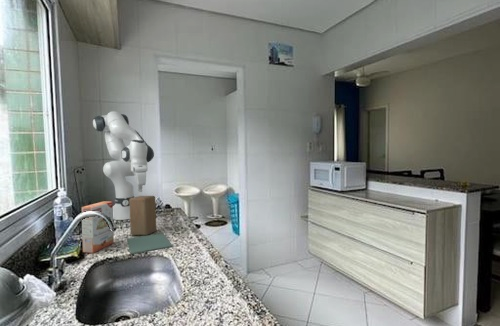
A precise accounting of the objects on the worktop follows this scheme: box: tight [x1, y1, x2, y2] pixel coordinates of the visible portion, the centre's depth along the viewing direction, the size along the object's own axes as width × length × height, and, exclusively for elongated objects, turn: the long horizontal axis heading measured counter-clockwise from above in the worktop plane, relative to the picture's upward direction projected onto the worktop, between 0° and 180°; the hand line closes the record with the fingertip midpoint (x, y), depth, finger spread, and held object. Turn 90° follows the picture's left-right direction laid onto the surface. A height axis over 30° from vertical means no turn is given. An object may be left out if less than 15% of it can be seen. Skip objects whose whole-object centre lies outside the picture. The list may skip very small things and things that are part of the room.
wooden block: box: [129, 195, 157, 236], centre depth 145 cm, size 10×10×20 cm
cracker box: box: [81, 200, 115, 254], centre depth 124 cm, size 14×6×21 cm, turn 171°
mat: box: [126, 232, 173, 255], centre depth 130 cm, size 22×18×1 cm
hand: (140, 191), depth 153 cm, fingers closed
